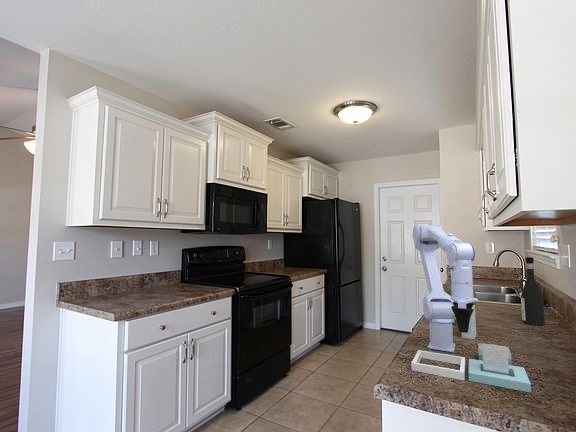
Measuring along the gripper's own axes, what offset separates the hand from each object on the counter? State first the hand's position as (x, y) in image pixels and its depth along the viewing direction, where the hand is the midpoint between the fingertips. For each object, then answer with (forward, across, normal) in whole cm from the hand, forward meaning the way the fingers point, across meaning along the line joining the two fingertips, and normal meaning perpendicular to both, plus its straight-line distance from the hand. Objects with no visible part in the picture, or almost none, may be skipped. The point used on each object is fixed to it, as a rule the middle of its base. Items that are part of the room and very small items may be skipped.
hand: (463, 329), depth 94 cm
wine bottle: (+11, +73, -26) cm, 78 cm away
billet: (+10, -6, -7) cm, 14 cm away
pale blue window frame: (+10, -6, -8) cm, 14 cm away
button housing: (+10, +7, -8) cm, 15 cm away
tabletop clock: (+11, +55, +4) cm, 56 cm away
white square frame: (+10, -6, +6) cm, 14 cm away
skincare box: (+11, +34, -1) cm, 36 cm away
